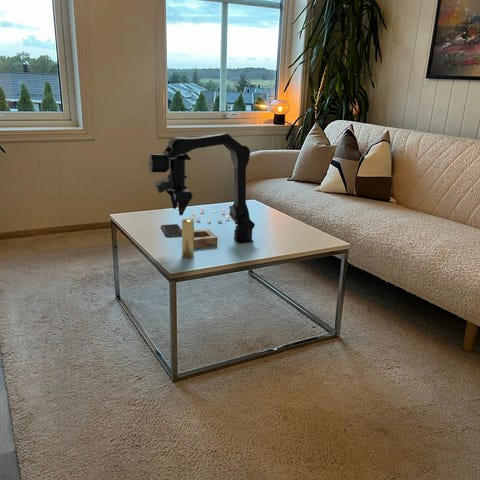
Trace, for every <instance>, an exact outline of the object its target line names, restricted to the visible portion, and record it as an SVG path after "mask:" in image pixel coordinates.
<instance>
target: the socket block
mask: <svg viewBox="0 0 480 480" xmlns="http://www.w3.org/2000/svg"><path fill="white" fill-rule="evenodd" d="M217 246H218V236H217V235H216V234H214V232H212V231H211V230H210V229H209V228H205V229H194V249H197V248H207V247H208V248H209V247H217Z"/></svg>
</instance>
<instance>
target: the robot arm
mask: <svg viewBox="0 0 480 480" xmlns="http://www.w3.org/2000/svg"><path fill="white" fill-rule="evenodd" d="M220 145H223V146H224V147H225V148H226V149H227V150H228V151H229V153H230V158H231V162H232V165H233V169H234V170H233V171H234V172H233V173H234V175H233V176H234V177H233V179H234V181H233V184H234V188H233V190H234V196H233V197H234V199H233V201H234V202H233V205H229V207H228V209H229V214H228V215H230V220H232V221H233V222H234V224H235V225H236V226H235V229H234V230H233V231H234V233H233V234H234V237H233V240H234V241H236V242H237V243H238V244H245V243H247V244H249V243H254V240H253V229H255V223H254V222H253V221H252V220H251V218H250V212H249V209H248V205H247V198H246V197H247V181H246V180H247V166H248V165H249V162H250V156H251V149H250V148H249V147H248V146H246V145H244V144H242V143H239V142H238V141H237V140H236V139H235V138H233V137H232V136H231V135H230V134H229V133H226V132H220V133H215V134H208V135H201V136H194V137H187V136H172V137H171V138H169V141H168V144H167V146H166V148H165V149H164V151H163V152H162V153H150V154H149V156H150V157H149V159H148V170H149V173H151V174H154V173H155V174H156V173H158V174H161V173H167V171H169V173H168V174H167V177H166V178H163V179H160V180H158V181H156V182H154V183H153V184H154V187H155V189H156V192H158V193H159V194H161V193H164V192H166V193H167V194H168V195H169V199H170V202H171V206H172V209H173V210H175V209H177V208H178V214H179V216H183V215H184V213H185V211H186V209H187V207H188V205H189V203H190V202H191V201H192V200H193V193H192V192H191V191H190V190H189V189H188V186H187V185H186V179H188V177H187V176H188V175H187V174H186V161H191V160H192V158H191V157H190V156H189V155H188V153H189V152H191V151H194V150H196V149H201V148H207V147H213V146H220Z"/></svg>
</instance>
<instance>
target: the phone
mask: <svg viewBox="0 0 480 480" xmlns="http://www.w3.org/2000/svg"><path fill="white" fill-rule="evenodd" d="M160 229H161V230H162V233H164V235H165V237H166V238H178V237H181V238H182V227H180V225H179V224H175V223H174V224H172V223H171V224H161V226H160Z"/></svg>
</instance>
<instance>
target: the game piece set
mask: <svg viewBox="0 0 480 480" xmlns="http://www.w3.org/2000/svg"><path fill="white" fill-rule="evenodd" d="M199 210H200V211H201V214H203V213H205V208H204V207H203V206H202V207H200V208H199ZM221 210H222V211H221V212H222V215H225V214H226V213H225V211H226V209H225V208H222V209H221ZM216 211H217V210H216V209H215V210H214V211H213V210H212V211H211V213H212V214H213V213H215V212H216ZM196 212H197V210H195V211H192V213H191V215H192V216H190V219H192V220H196V221H197V222H199V223H200V222H201V217H202V216H201V215H200V216H199V217H197V216H196V215H197V214H196ZM225 217H226V221H230V220H231V216H230V215H229V214H227V215H226V216H225ZM217 222H219V223H222V222H223V218H222V217H221V218H220V219H217ZM207 224H209V225H210V224H212V221H211V219H207Z"/></svg>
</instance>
